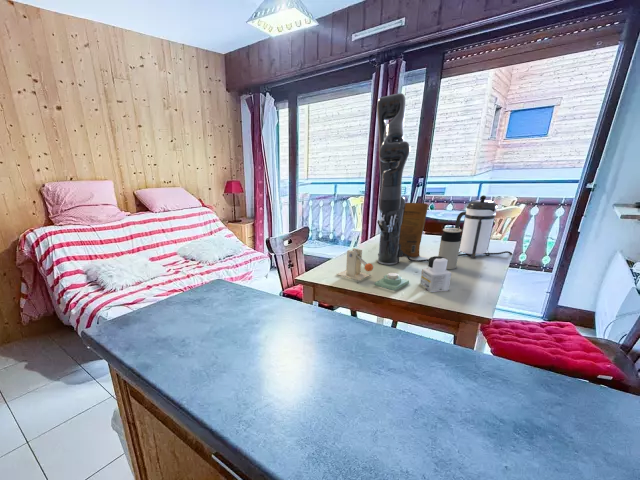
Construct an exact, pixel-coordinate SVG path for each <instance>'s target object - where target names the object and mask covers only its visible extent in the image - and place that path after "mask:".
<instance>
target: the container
mask: <svg viewBox="0 0 640 480" xmlns="http://www.w3.org/2000/svg"><path fill="white" fill-rule="evenodd" d="M428 259H429V261H427V262H428V263H427V267H422V268H421V274H420V275H421V276H420V283H419V284H420V285H422V286H424V287H425V290H426V291H428V292H429V293H434V292H435V293H436V292H448V291H449V290H450V283H451V277H452V272H451V271H449V270H448V269H446V267H447V261H448V260H447V259H446V258H444V257H440V256H438V255H435V256H430V257H429V258H428Z"/></svg>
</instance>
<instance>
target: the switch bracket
mask: <svg viewBox="0 0 640 480" xmlns="http://www.w3.org/2000/svg"><path fill="white" fill-rule="evenodd" d="M353 250H356V251H357V252H358V253H359V255H358V256H359V257H361V258H362V259H363V249H359V248H352V250H349V249H348V250H347V251H346V267H345V270H342V271H341V272H338V273H336V275H337V276H340V277H344V278H347V279H351V280H355V281H361V280H364V279H366V278H368V277H370V276H371V274H369V273H365V272H362V263H361V262H360V261H359V260H358V259H357V258H356V256H357V252H355V251H353Z"/></svg>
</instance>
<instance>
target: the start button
mask: <svg viewBox="0 0 640 480" xmlns="http://www.w3.org/2000/svg"><path fill="white" fill-rule="evenodd" d="M387 275H388V276H387V278H388V279H398V276H399V274H398V273H396V272H388V273H387Z"/></svg>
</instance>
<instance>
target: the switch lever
mask: <svg viewBox="0 0 640 480" xmlns="http://www.w3.org/2000/svg"><path fill="white" fill-rule="evenodd" d="M352 251H355V252H357V251H356V250H353V249H352ZM358 255H359V253H358V252H357V256H356V258H357V259H358V260H359V261H360V262H361V265H362V266H364V270H365V271H366V272H372V271H373V269H374V265H373V264H372V263H370V262H368V263H367V261H365V260H364V259H363V257H362V258H361V257H359V256H358Z"/></svg>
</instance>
